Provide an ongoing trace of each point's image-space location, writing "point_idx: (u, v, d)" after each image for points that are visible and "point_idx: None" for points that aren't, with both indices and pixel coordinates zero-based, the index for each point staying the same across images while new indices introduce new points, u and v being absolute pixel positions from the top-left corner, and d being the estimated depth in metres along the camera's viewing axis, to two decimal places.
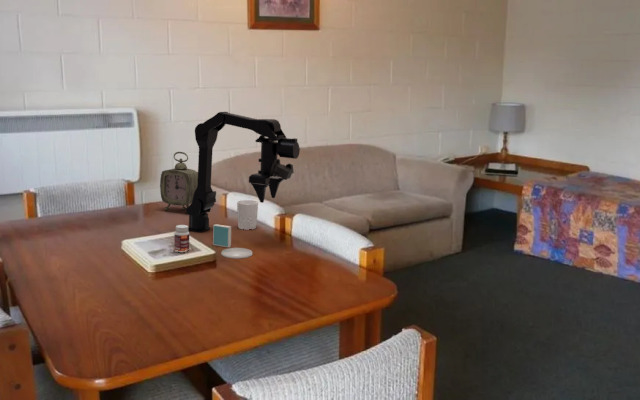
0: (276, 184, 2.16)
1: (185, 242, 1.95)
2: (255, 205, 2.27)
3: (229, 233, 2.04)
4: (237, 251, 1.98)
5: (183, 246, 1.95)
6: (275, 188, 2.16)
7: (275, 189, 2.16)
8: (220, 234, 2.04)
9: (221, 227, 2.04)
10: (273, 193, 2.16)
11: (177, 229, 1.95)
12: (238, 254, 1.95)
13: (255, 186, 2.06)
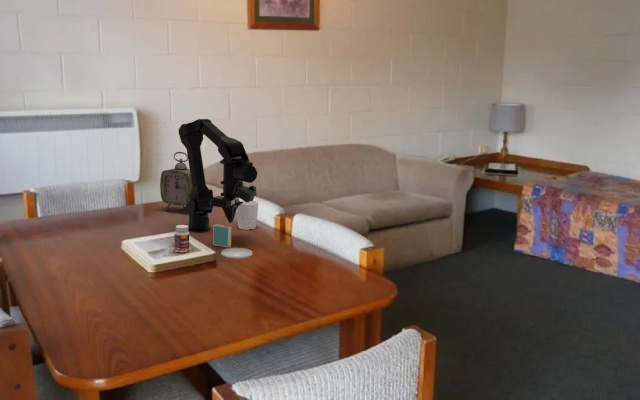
0: (234, 208, 2.09)
1: (185, 242, 1.95)
2: (255, 205, 2.27)
3: (229, 233, 2.04)
4: (237, 251, 1.98)
5: (183, 246, 1.95)
6: None
7: None
8: (220, 234, 2.04)
9: (221, 227, 2.04)
10: None
11: (177, 229, 1.95)
12: (238, 254, 1.95)
13: None
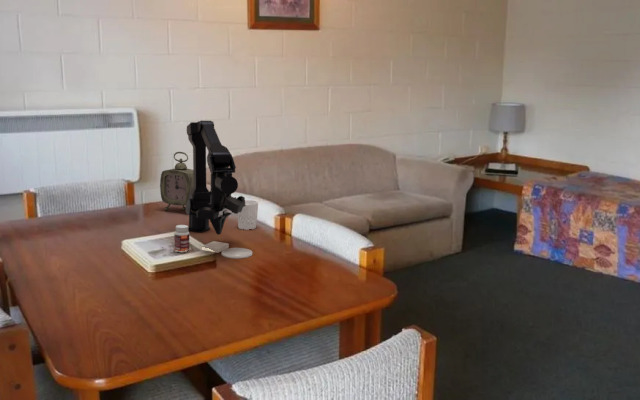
0: (222, 219, 2.02)
1: (185, 242, 1.95)
2: (255, 205, 2.27)
3: (221, 250, 2.00)
4: (237, 251, 1.98)
5: (183, 246, 1.95)
6: None
7: None
8: None
9: None
10: None
11: (177, 229, 1.95)
12: (238, 254, 1.95)
13: None
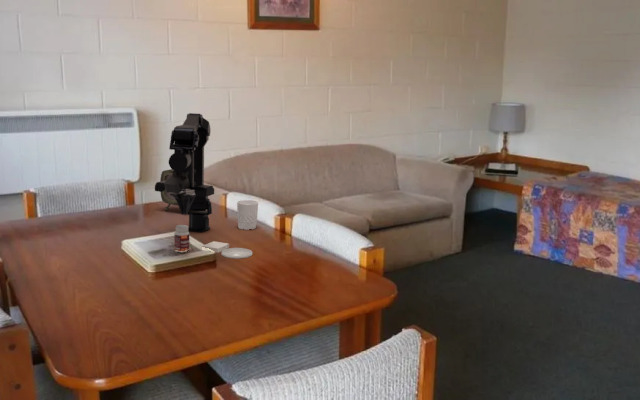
0: None
1: (185, 242, 1.95)
2: (255, 205, 2.27)
3: (221, 250, 2.00)
4: (237, 251, 1.98)
5: (183, 246, 1.95)
6: None
7: None
8: None
9: None
10: None
11: (177, 229, 1.95)
12: (238, 254, 1.95)
13: None
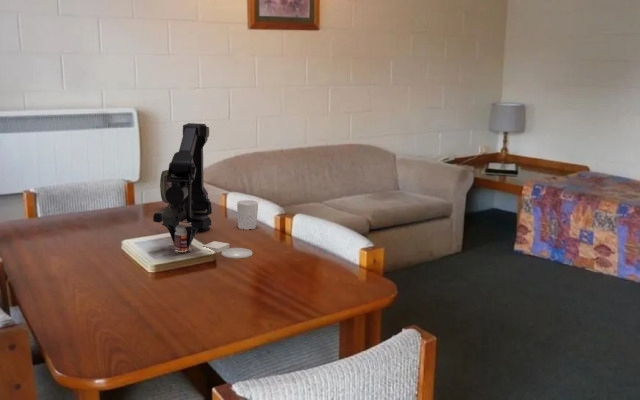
0: None
1: (185, 242, 1.95)
2: (255, 205, 2.27)
3: (221, 250, 2.00)
4: (237, 251, 1.98)
5: (183, 246, 1.95)
6: None
7: None
8: None
9: None
10: None
11: (177, 229, 1.95)
12: (238, 254, 1.95)
13: None
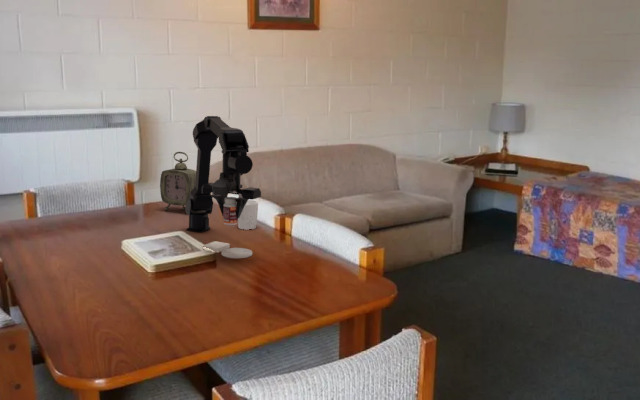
0: None
1: (234, 213, 1.92)
2: (255, 205, 2.27)
3: (221, 250, 2.00)
4: (237, 251, 1.98)
5: (232, 218, 1.92)
6: None
7: None
8: None
9: None
10: None
11: (226, 201, 1.92)
12: (238, 254, 1.95)
13: None
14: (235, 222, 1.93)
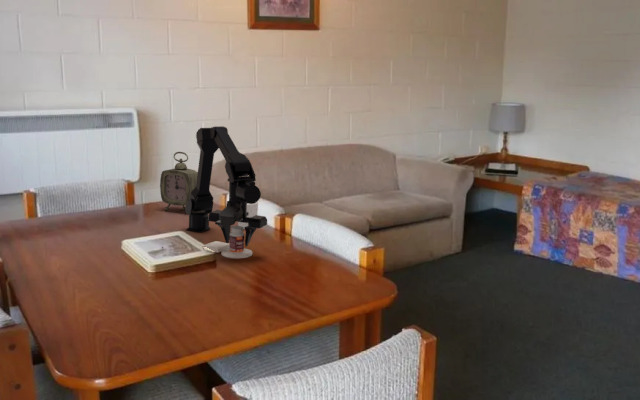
0: None
1: (240, 243, 1.95)
2: (255, 205, 2.27)
3: (221, 250, 2.00)
4: None
5: (239, 247, 1.95)
6: None
7: None
8: None
9: None
10: None
11: (233, 230, 1.94)
12: (238, 254, 1.95)
13: None
14: (241, 251, 1.96)
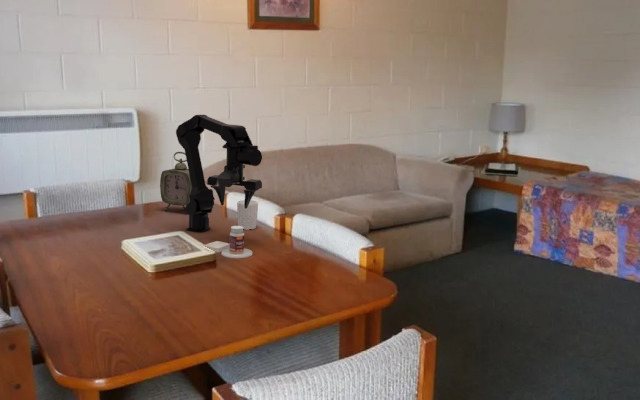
0: None
1: (240, 243, 1.95)
2: (255, 205, 2.27)
3: (221, 250, 2.00)
4: None
5: (239, 247, 1.95)
6: None
7: None
8: None
9: None
10: None
11: (233, 230, 1.94)
12: (238, 254, 1.95)
13: None
14: (241, 251, 1.96)
